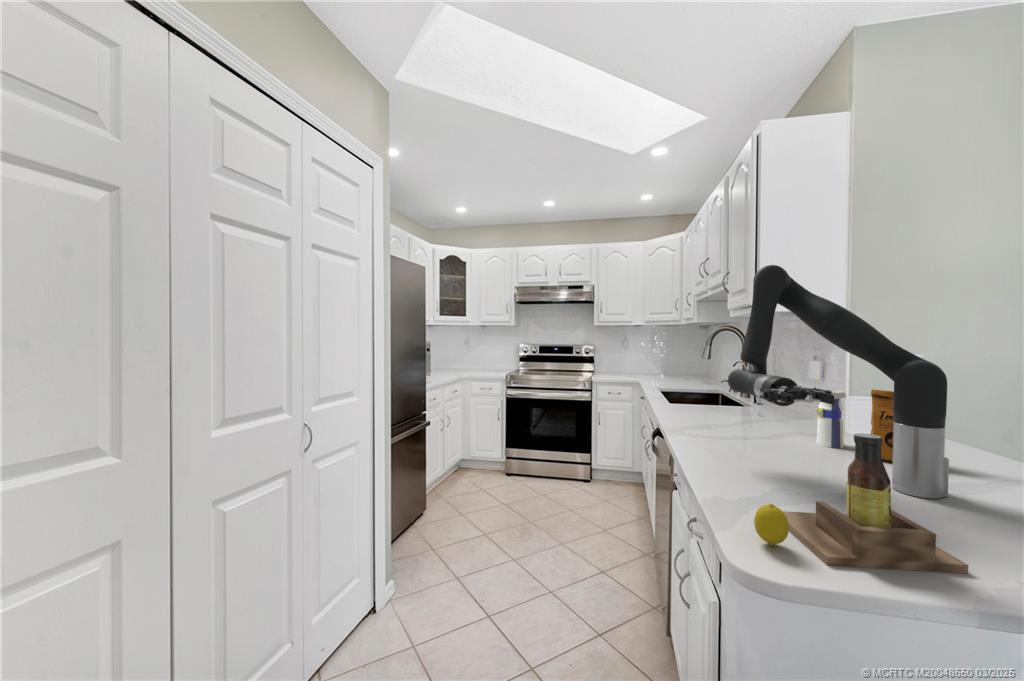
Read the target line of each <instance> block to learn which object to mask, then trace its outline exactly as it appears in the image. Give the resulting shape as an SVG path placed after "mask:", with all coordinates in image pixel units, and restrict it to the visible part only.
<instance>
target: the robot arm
mask: <svg viewBox="0 0 1024 681" xmlns="http://www.w3.org/2000/svg"><path fill="white" fill-rule="evenodd" d="M754 274H755V275H754V276H753V283H752V284H753V286H752V290H753V291H752V301H751V309H750V310H751V311H750V315H749V319H748V323H747V328H746V332H745V336H744V340H743V345H742V347H741V353H740V360H741V361H742V362H745V363H746V364H749V365H751V366H752V370H753V371H750V370H746V369H739V368H738V369H734V370H732V371H731V372H730V373H729V375H728V378H727V384H728V386H729V388H730V389H731V390H732V391H734V392H737V393H741V394H747V395H751V396H753V397H756V398H758V399H761V400H762V401H765V402H767V403H769V404H773V405H775V406H776V405H777V406H780V407H788V406H789V407H790V406H791V405H794V403H801V402H803V403H815V402H819V403H820V402H823V403H827V404H834V396H833V395H832V394H831V393H832V391H828V390H829V389H822V388H816V387H803V386H801V385H798V384H797V382H796V381H795V380H792V379H791V378H789V377H786V376H785V377H784V376H779V375H774V374H768V372H767V370H768V369H767V368H768V366H767V365H768V364H767V362H768V361H767V359H768V355H769V351H770V349H771V348H770V346H771V343H772V336H773V326H774V319H775V318H774V317H775V314H776V311H777V310H776V309H777V306H778V305H779V306H782V307H783V308H785V309H786V310H788V311H790V312H791V313H792V314H794V315H795V316H796V317H797V318H799V320H800V321H802V322H803V323H804V324H805V325H807V326H808V328H810V329H811V330H812V331H814V332H815V333H817V334H818V335H820V336H821V337H822V338H824V339H825V340H826V341H828V342H830V343H831V344H833V345H834V346H836V347H838V348H840V349H842V350H843V351H845V352H847V353H848V354H851V355H853V356H855V357H857V358H859V359H861V360H864V361H866V362H867V363H869V364H870V365H872V366H874V368H876V369H878V370H879V371H880V372H882V373H883V374H884V375H886V376H887V377H888V378H889V379H891V381H893V391H894V406H893V416H894V418H893V421H894V422H893V462H891V463H892V468H891V469H892V471H891V475H892V476H891V488H892V489H893V490H895V491H897V492H899V493H903V494H904V495H905V494H906V495H909V496H912V497H913V496H914V497H918V498H923V499H931V500H932V499H934V500H936V499H937V500H938V499H943V498H948V497H949V477H950V476H949V472H950V470H949V469H950V460H949V458H948V457H945V444H946V442H945V441H946V418H947V407H948V406H947V403H948V400H947V399H948V378H947V375H946V373H945V372H944V370H942V368H941V367H940V366H938V365H937V364H935V363H934V362H931V361H929V360H926V359H924V358H922V357H920V356H918V355H916V354H915V353H912V352H911V351H909V350H906V349H905V348H903V347H901V346H900V345H897V344H896V343H894V342H893V341H892V340H890V339H889V338H888V337H887V336H885V335H884V334H883V333H881V332H880V331H879V330H878V329H876V328H875V327H874V326H872V325H871V324H870V323H868V322H867V321H865V320H864V319H862V318H861V317H860V316H858V315H856V314H855V313H854V312H851V311H850V310H849V309H847V308H845V307H843V306H841V305H840V304H838V303H835V302H833V301H831V300H830V299H827V298H824V297H822V296H819V295H817V294H814V292H813V293H812V292H811V291H809V290H808V289H807V288H805V287H804V286H802V285H801V284H799V282H797V281H796V280H794V279H793V278H792V276H790V275H789V273H788V272H787V271H786V270H785V268H783V267H782V266H779V265H776V264H769V265H768V264H767V265H765V266H762V267H761V268H760V269H759V270H758V271H756V273H754ZM807 398H808V399H807Z"/></svg>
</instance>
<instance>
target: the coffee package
mask: <svg viewBox="0 0 1024 681" xmlns="http://www.w3.org/2000/svg"><path fill="white" fill-rule="evenodd" d="M870 397H871V404H872V405H871V418H870V425H871V430H870V434H872V435H877V436H880V437H882V445H881V457H882V459H881V460H882V461H886V462H891V463H893V422H894V421H893V418H894V416H893V406H894V390H893V391H891V390H883V389H874V388H873V389H871V391H870Z"/></svg>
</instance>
